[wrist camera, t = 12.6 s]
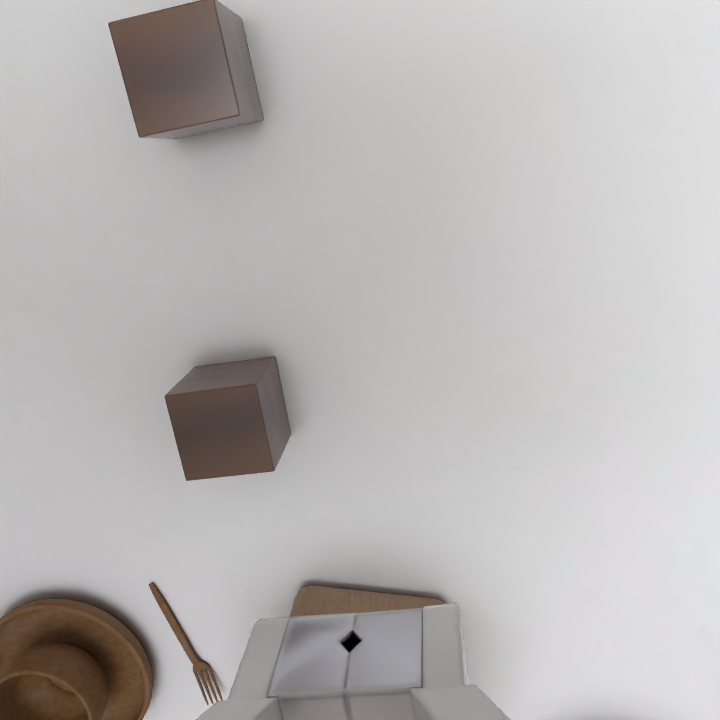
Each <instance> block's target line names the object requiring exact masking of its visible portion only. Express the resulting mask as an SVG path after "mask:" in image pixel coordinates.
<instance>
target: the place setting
mask: <svg viewBox="0 0 720 720" xmlns="http://www.w3.org/2000/svg"><path fill="white" fill-rule="evenodd" d="M149 586H150V589H151V591H152V593H153V595H154V597H155V599H156V601H157V603H158V605H159V606H160V608H161V610H162V612H163V614H164V615H165V617H166V619H167V621H168V622H169V624H170V626H171V628H172V629H173V631H174V633H175V635H176V636H177V638H178V640H179V642H180V643H181V645H182V647H183V648H184V650H185V652H186V654H187V655H188V657H189V659H190V660H191V662H192V663H193V672H194V674H195V676H196V679H197V681H198V684H199V686H200V689H201V691H202V694H203V696H204V699H205V701H206V703H207V705H208V701H207V698H206V695H205V692H204V690H203V687H202V684H201V682H200V679H199V677H198V674H197V671H198V672H199V674H200V676H201V678H202V680H203V683H204V685H205V688H206V691H207V693H208V695H209V698H210V700H211V702H212V704H213V700H212V697H211V694H210V692H209V689H208V686H207V684H206V681H205V679H204V676H203V674H202V671H201V670H203V671H204V673H205V675H206V677H207V680H208V682H209V685H210V687H211V690H212V692H213V695H214V697H215V699H216V701H218V700H217V697H216V694H215V691H214V688H213V685H212V683H211V680H210V678H209V675H208V673H207V670H206V668H207V669H208V670H209V672H210V674H211V676H212V679H213V681H214V684H215V686H216V689H217V691H218V694H219V696H220V698H221V700H222V696H221V693H220V690H219V687H218V685H217V682H216V679H215V677H214V674H213V672H212V670H211V668H210V666H209V665H208V664H207V663H205V662H202V661H199V660H198V659H197V657H196V656H195V654H194V652H193V650H192V649H191V647H190V645H189V643H188V641H187V639H186V638H185V636H184V634H183V632H182V630H181V629H180V627H179V625H178V623H177V621H176V620H175V618H174V616H173V614H172V612H171V611H170V609H169V607H168V605H167V604H166V602H165V600H164V599H163V597H162V595H161V594H160V592H159V591H158V589H157V588H156V587H155V585H154V584H153V583H152V584H149ZM152 686H153V683H152V672H151V668H150V664H149V661H148V658H147V656H146V653H145V651H144V650H143V648H142V646H141V644H140V643H139V641H138V640H137V639H136V637H135V636H134V635H133V634H132V633H131V631H130V630H129V629H128V628H127V627H126V626H124V625H123V624H122V623H121V622H120V621H119V620H117V619H116V618H114V617H113V616H112V615H110V614H108V613H107V612H105V611H103V610H101V609H99V608H97V607H94V606H92V605H89V604H86V603H83V602H79V601H74V600H68V599H44V600H37V601H33V602H30V603H26V604H24V605H21V606H19V607H17V608H15V609H13V610H12V611H10V612H9V613H7V614H5V615H4V616H3V617H2V618H1V619H0V720H142V719H143V718H144V716H145V713H146V711H147V709H148V707H149V703H150V699H151V696H152ZM222 701H223V700H222Z"/></svg>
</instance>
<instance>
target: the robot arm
mask: <svg viewBox="0 0 720 720" xmlns="http://www.w3.org/2000/svg"><path fill="white" fill-rule="evenodd" d="M196 720H510V719H509V718H508V717H507V716H506V715H505V714H504V713H503V712H502V711H501V710H500V709H499V708H498V707H497V706H496V705H495V704H494V703H493V702H492V701H491V700H490V699H489V698H488V697H487V696H486V695H485V694H484V693H483V692H482V691H481V690H480V689H479V688H478V687H477V686H476V685H469V677H468V670H467V662H466V655H465V647H464V640H463V632H462V625H461V617H460V611H459V606H458V605H457V603H452V604H443V605H434V606H425V607H424V608H417V609H405V610H393V611H381V612H369V613H358V614H357V613H346V614H329V615H311V616H293V617H292V618H291V617H280V618H267V619H260V620H258V621H257V622H256V623H255V625H254V626H253V629H252V632H251V635H250V638H249V640H248V643H247V646H246V649H245V652H244V655H243V657H242V660H241V663H240V666H239V669H238V671H237V674H236V677H235V680H234V683H233V685H232V688H231V691H230V694H229V697H228V699H227V701H217V702H216V703H215V704H214V705H212V706H211V707H210V708H209V709H208V710H207V711H205V712H204V713H203V714H202V715H201V716H200V717H198V718H197V719H196Z"/></svg>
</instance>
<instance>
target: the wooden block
mask: <svg viewBox="0 0 720 720" xmlns="http://www.w3.org/2000/svg"><path fill="white" fill-rule="evenodd" d="M443 604H446V603H445V602H443V601H441V600H438V599H435V598H426V597H417V596H407V595H398V594H389V593H380V592H370V591H361V590H352V589H343V588H333V587H324V586H315V585H311V586H306V587H303V588H302V589H301V590H300V591H299V592H298V594H297V596H296V598H295V600H294V603H293V607H292V610H291V614H290V617H291V618H292V617H293V616H311V615H329V614H346V613H357V614H358V613H369V612H381V611H393V610H405V609H417V608H424V607H425V606H434V605H443Z"/></svg>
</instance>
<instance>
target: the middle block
mask: <svg viewBox="0 0 720 720" xmlns="http://www.w3.org/2000/svg"><path fill="white" fill-rule="evenodd" d="M108 25H109V29H110V32H111V36H112V40H113V43H114V47H115V51H116V54H117V58H118V62H119V65H120V69H121V73H122V76H123V80H124V84H125V88H126V91H127V95H128V99H129V102H130V106H131V110H132V113H133V117H134V121H135V124H136V128H137V132H138V136H139V137H141V138H167V139H178V138H182V137H187V136H192V135H196V134H201V133H206V132H210V131H215V130H220V129H224V128H229V127H234V126H238V125H243V124H248V123H252V122H257V121H262V120H263V119H264V118H263V113H262V109H261V104H260V100H259V95H258V91H257V86H256V82H255V77H254V73H253V68H252V64H251V59H250V54H249V50H248V45H247V41H246V36H245V32H244V27H243V23H242V19H241V18H240V17H239V16H238V15H236V14H235V13H233V12H232V11H231V10H229V9H228V8H227V7H225V6H224V5H222V4H221V3H220V2H218V1H217V0H200V1H196V2H192V3H187V4H183V5H179V6H175V7H171V8H167V9H163V10H158V11H154V12H150V13H146V14H142V15H138V16H134V17H130V18H125V19H121V20H117V21H113V22H109V23H108Z"/></svg>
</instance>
